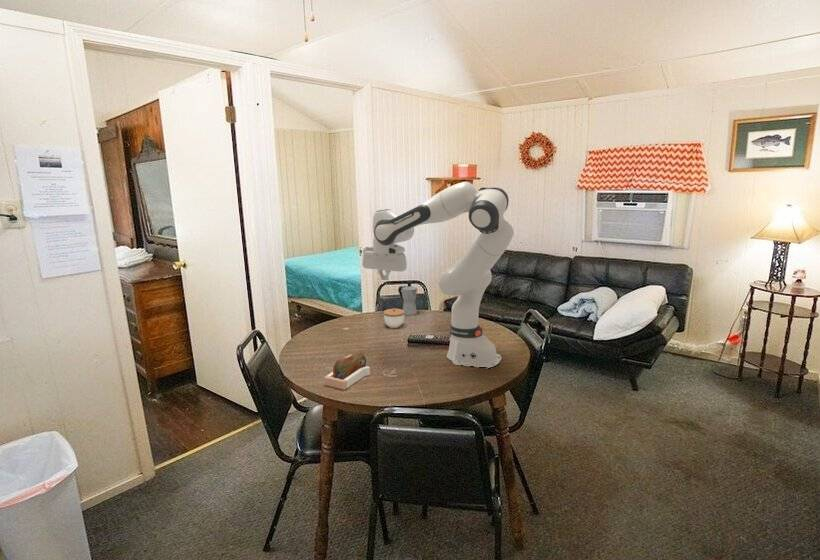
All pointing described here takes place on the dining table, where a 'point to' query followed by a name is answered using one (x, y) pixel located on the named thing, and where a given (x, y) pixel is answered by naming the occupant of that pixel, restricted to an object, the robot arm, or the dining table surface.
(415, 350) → the dining table surface
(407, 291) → the coffee maker
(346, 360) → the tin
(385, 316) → the lidded jar
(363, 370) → the guide channel
